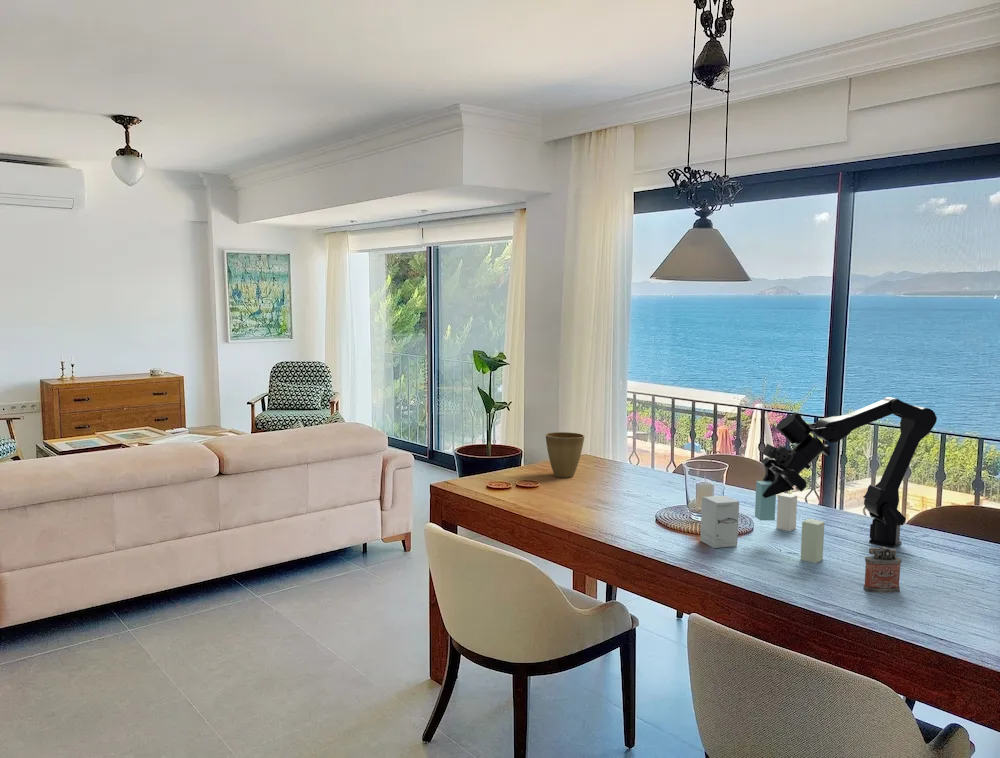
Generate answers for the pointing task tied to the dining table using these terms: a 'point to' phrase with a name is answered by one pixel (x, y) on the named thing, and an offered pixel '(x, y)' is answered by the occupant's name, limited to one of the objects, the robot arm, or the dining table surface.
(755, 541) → the dining table surface
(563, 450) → the plant pot
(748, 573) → the dining table surface
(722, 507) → the supplement box
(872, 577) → the lighter
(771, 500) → the teal post
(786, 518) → the off-white post
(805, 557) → the sage post
